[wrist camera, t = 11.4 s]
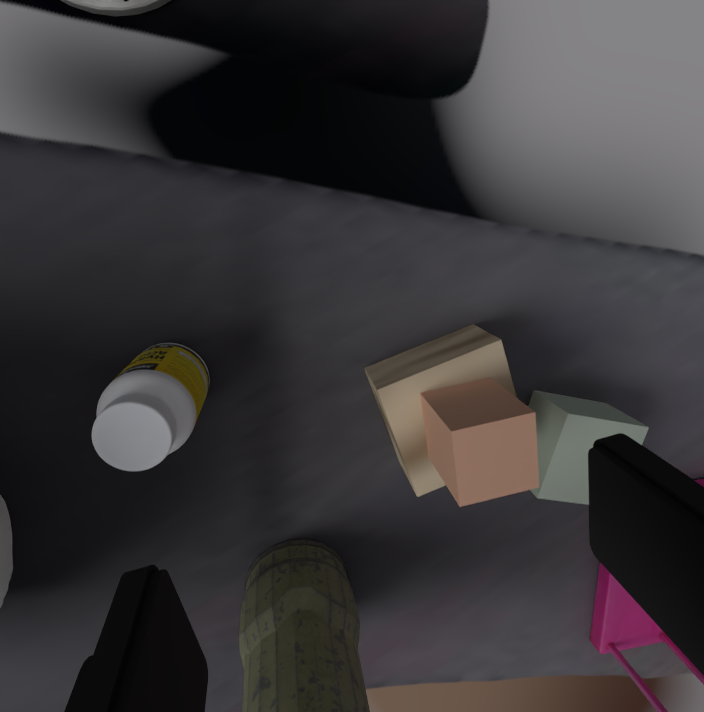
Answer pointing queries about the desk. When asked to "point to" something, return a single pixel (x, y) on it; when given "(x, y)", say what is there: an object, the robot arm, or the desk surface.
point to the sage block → (573, 441)
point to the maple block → (425, 373)
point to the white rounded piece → (5, 550)
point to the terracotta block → (481, 440)
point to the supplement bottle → (150, 407)
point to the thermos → (300, 632)
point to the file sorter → (627, 628)
